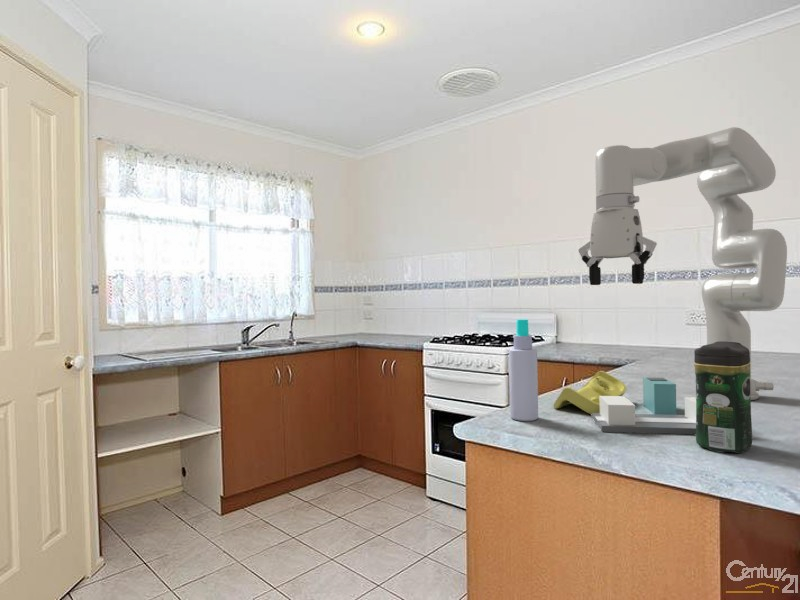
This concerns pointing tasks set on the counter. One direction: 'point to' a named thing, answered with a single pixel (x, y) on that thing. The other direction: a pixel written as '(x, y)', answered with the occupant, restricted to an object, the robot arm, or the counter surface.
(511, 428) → the counter surface
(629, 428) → the rail board
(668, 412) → the block
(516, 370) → the spray bottle
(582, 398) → the plastic component
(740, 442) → the coffee jar
